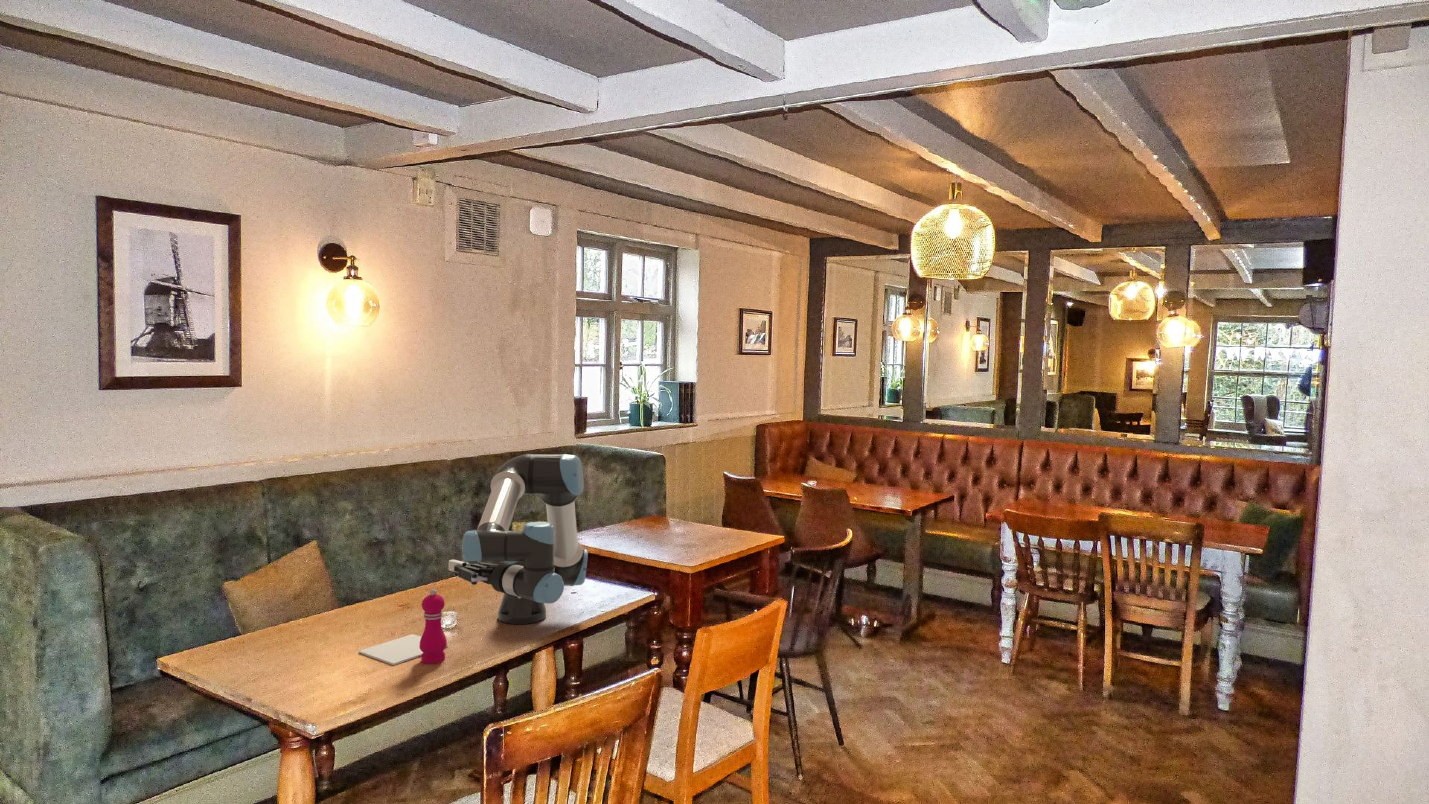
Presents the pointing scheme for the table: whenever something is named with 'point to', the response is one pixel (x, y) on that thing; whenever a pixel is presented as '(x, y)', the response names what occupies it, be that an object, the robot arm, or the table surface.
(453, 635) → the table surface
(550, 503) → the robot arm
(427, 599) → the pepper mill
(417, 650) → the grey rubber mat
